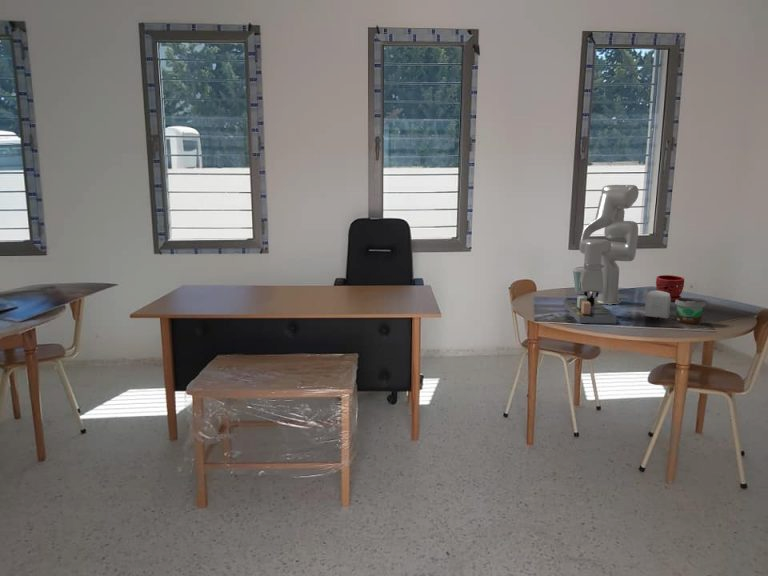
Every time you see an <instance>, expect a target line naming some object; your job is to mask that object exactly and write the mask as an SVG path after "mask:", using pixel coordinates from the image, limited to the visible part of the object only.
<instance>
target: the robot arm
mask: <svg viewBox="0 0 768 576" xmlns="http://www.w3.org/2000/svg"><path fill="white" fill-rule="evenodd" d="M639 194H640V192H639V188H638V187H637V185H635V184H608V185H604V186H603V187H602V189H601V195H600V197H599V202H598V206H597V210H596V213H595V218H594V219H592V221H591V222H589V223H588V224H587V225H586V226H585V228H584V229H583V230H582V233H581V235H580V237H581V238H580V240H579V245H578V246H579V251H580V253H581V254H584V261H583V263H584V264H583V267H584V270H582V272H581V277H580V284H579V288H580V291H579V293H581V294H585V295H584V296H585V297H586V301H589V302H590V303H591V306H593V304H594V298H595V297H596V301H598V302H599V303H600V304H601V305H606V304H608V305H611V306H613V305H612V304H616V305H620V304H621V303H622V301H621V300H628V298H629V297H628V295H623V294H620V293H619V282H620V279H619V278H620V267H619V265H618V264H617V262H618V261H619V262H632V261H634V259H635V257H636V253H637V248H638V247H637V245H638V237H639V225H638V223H637V222H636V221H633V220H625V219H624V218H625V209H627V210H628V209H630V208H631V207H632V206H633V204H635V203H636V201H637V199H638V197H639ZM602 229H604V231H603V234H604V237H605V238H607V239H603V238H599V239H598V238H590V237H591V235H592V234H593V233H595V232H596V231H599V230H602ZM608 239H609V240H620V241H609V240H608ZM621 240H622V241H621ZM623 240H624V241H625V242H624V241H623ZM590 292H592V295H591V296H590ZM619 303H620V304H619Z"/></svg>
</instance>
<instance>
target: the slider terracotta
mask: <svg viewBox="0 0 768 576" xmlns="http://www.w3.org/2000/svg"><path fill="white" fill-rule="evenodd" d="M590 310H591V303H590V302H589V301H587V300H586V301H582V304H581V312H582V313H583V314H590Z"/></svg>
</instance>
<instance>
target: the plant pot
mask: <svg viewBox="0 0 768 576" xmlns="http://www.w3.org/2000/svg"><path fill="white" fill-rule="evenodd" d="M655 279H656V280H655V286H656V291H664V292H667V293H669V294H670V297H671V301H670V302H675V301H676V299H677V300H679V301H681V300H680V299H681V298H682V297H681V294H682V293H683V290H684V286H685V278H684V277H682V276H677V275H671V274H670V275H669V274H664V275H662V274H661V275H658V276H656V278H655Z"/></svg>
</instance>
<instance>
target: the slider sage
mask: <svg viewBox="0 0 768 576" xmlns="http://www.w3.org/2000/svg"><path fill="white" fill-rule="evenodd" d="M576 299H577V307H578V308H579V309H581V304H582V301H587V297H586V296H585V295H583V296H581V295H577V298H576Z"/></svg>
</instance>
